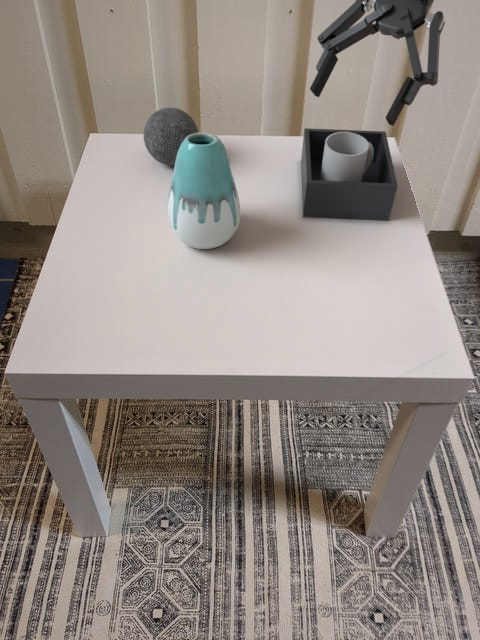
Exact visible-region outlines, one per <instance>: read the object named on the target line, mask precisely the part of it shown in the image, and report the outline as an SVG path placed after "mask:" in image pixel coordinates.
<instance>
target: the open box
mask: <svg viewBox="0 0 480 640" xmlns="http://www.w3.org/2000/svg"><path fill="white" fill-rule="evenodd" d="M337 132H351V133H355V134H358V135H360V136H362V137H364V138H365V139H366V140H367V141H368V142H370V143H371V144H372V146H373V149H374V156H373V160H372V163H371V166H370V167H369V169H368V170H367V172H366V173H365V174H364V175H363V177H362V182H342V181H320V175H321V168H322V161H323V154H324V147H325V140H326V138H327V137H328V136H329V135H331V134H333V133H337ZM301 148H302V149H301V157H300V178H301V204H302V205H301V207H302V217H303V218H315V219H316V218H319V219H339V220H340V219H342V220H364V221H365V220H366V221H383V222H384V221H386V222H387V221H388V222H389V220H390V216H391V213H392V209H393V205H394V203H395V198H396V193H397V191H398V183H397V178H396V177H397V176H396V173H395V168H394V164H393V158H392V155H391V150H390V145H389V141H388V137H387V132H386V130H385V131H382V130H358V129H356V130H355V129H334V128H333V129H331V128H307V127H305V128H304V130H303V139H302V147H301Z"/></svg>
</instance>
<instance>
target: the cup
mask: <svg viewBox="0 0 480 640" xmlns="http://www.w3.org/2000/svg"><path fill="white" fill-rule="evenodd" d="M373 156H374V149H373V146H372V144H371V143H370V142H368V141H367V140H366V139H365V138H364V137H362V136H360V135H358V134H355V133H351V132H337V133H333V134H331V135H329V136H328V137H327V138H326V140H325V147H324V154H323V161H322V168H321V175H320V181H342V182H362V177H363V175H364V174H365V173H366V172H367V170H368V169H369V167H370V166H371V163H372V160H373Z"/></svg>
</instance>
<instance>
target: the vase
mask: <svg viewBox="0 0 480 640" xmlns="http://www.w3.org/2000/svg"><path fill="white" fill-rule="evenodd" d="M173 166H174V167H173V172H172V177H171V179H170V184H169V188H168V195H167V206H166V208H167V209H166V210H167V211H166V213H167V221H168V224H169V227H170V229H171V231H172V232H173V234H174V236H175V237H176V238H177V239H178V240H179V241H181V242H182V243H183V244H184V245H187V246H189V247H191V248H194V249H198V250H199V249H200V250H210V249H215V248H218V247H220V246H222V245H224V244H226V243H227V242H228V241H229V240H230V239H232V237H234V235H235V234H236V232H237V230H238V228H239V225H240V222H241V216H242V209H241V200H240V196H239V192H238V189H237V185H236V181H235V179H234V176H233V172H232V169H231V164H230V161H229V157H228V153H227V150H226V147H225V145H224V143H223V142H222V140H221V139H220V137H219V136H217V135H215V134H213V133H210V132H198V133H194V134H191V135H189V136H187V137H186V138H185V139H184V140H183V142H182V143H181V145H180V147H179V150H178V153H177V156H176V161H175V165H173Z"/></svg>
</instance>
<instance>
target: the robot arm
mask: <svg viewBox="0 0 480 640" xmlns="http://www.w3.org/2000/svg"><path fill="white" fill-rule="evenodd" d="M434 2H435V0H355V1H354V2H353V4H351V5H350V6H349V7H348V8H347V9H346V10H345V11H344V12H343V13H342V14H340V15H339V17H337V19H335V20H334V21H333V22H331V24H330V25H329V26H327V28H326V29H324V30H323V31H322V32H321V33H320V34H319V35H318V36H317V42H318V43H319V44H320V46H321V48H322V49H323V51H322V53H321V55H320V57H319V60H318V61H317V63H316V66H315V69H316V71H317V73H316V76H315V77H314V80H313V81H312V84H311V86H310V87H309V90H310V91H311V93H312V94H313V96H315V97H316V98H320V97H321V94H322V92H323V91H324V89H325V86H326V85H327V82H328V80H329V78H330V77H331V74H332V72H333V71H334V69H335V67H336V65H337V62H338V61H339V58H338V57H337V55H338V54H340V53H341V52H343V51H345V50H346V49H348V48H350V47H352V46H353V45H355V44H357V43H358V42H360V41H362V40H364V39H365V38H367V37H368V36H371V35H372V36H373V35H375V34H377V33H379V32H380V34H381V35H383V36H390V37H392V38H394V39H397V40H400V39H402V38H404V39H405V43H406V47H407V52H408V57H409V62H410V67H411V70H412V76H413V77H411V76H406V78H405V80H404V82H403V84H401V85H402V86H401V88H400V89H399V91H398V93H397V95H396V97H395V98H394V100H393V101H392V104H391V105H390V108H389V109H388V111H387V113H386V115H385V120H386V122H387V123H388V125H390V126H393V127H394V126H395V123H396V122H397V120H398V119H399V116H400V115H401V112H402V110H404V107H405V105H407V106H411V105H412V104H413V102H414V101H415V99H416V97H417V95H418V94H419V91H420V89H421V88H422V87H423V86H426V85H430V86H432V87H433V86H436V85H437V84H438V82H439V65H440V64H439V63H440V46H441V45H440V43H441V42H440V41H441V34H442V32H443V30H444V27H445V25H446V22H445V16H444V12H443V11H441V10H438V11H436V12H435V13H431V12H429V10H430V9H431V8H432V5H433V4H434ZM371 9H373V10H374V11H372V12H371V13H369V12H370V11H371ZM366 13H369V14H368V15H366V16H365V17H364V19H362V20H361V21H359V20H360V19H361V18H363V16H364V15H365V14H366ZM358 21H359V22H358ZM357 22H358V23H357ZM425 24H426V27H427V30H428V48H427V49H428V50H427V66H426V67H427V68H426V69H427V71H423V67H422V63H421V59H420V54H419V49H418V44H417V41H416V34H415V31H416V30H418V29H419V28H421V27H422V26H425Z"/></svg>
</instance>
